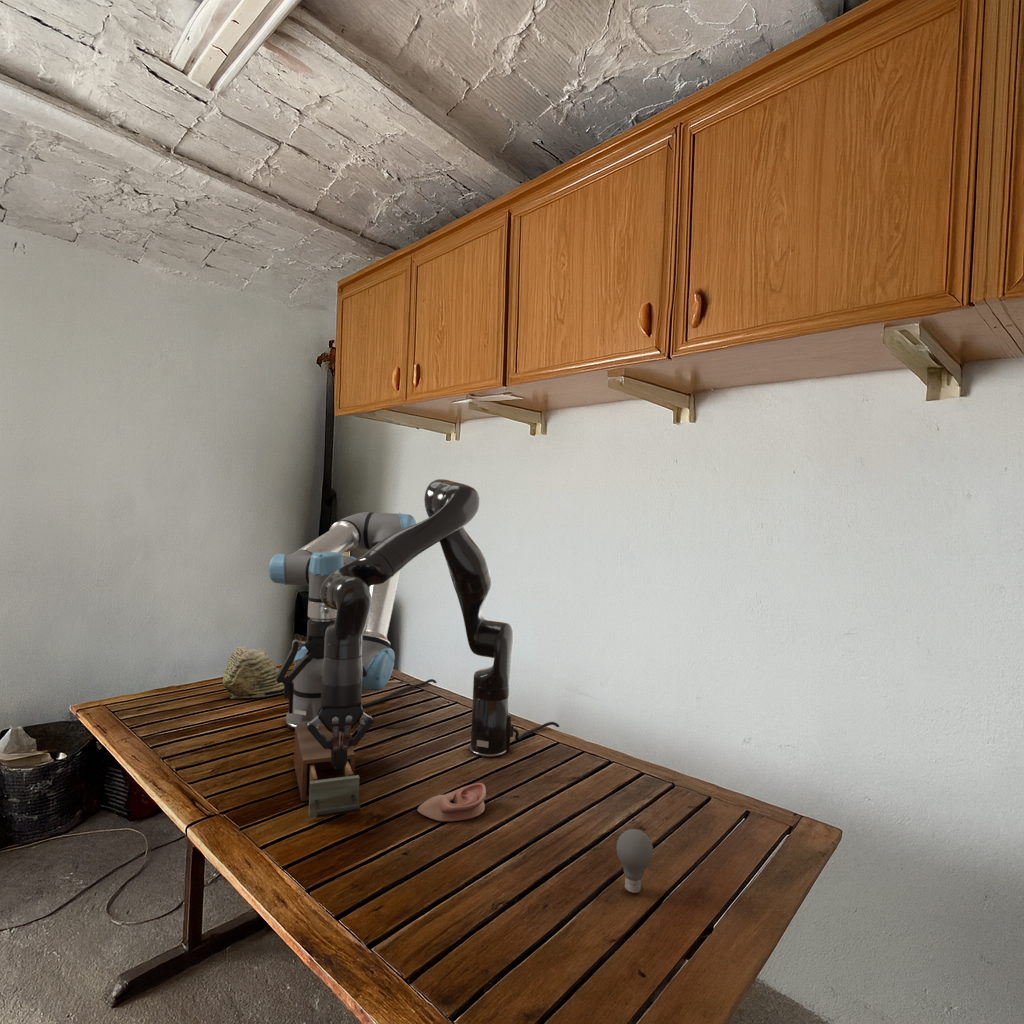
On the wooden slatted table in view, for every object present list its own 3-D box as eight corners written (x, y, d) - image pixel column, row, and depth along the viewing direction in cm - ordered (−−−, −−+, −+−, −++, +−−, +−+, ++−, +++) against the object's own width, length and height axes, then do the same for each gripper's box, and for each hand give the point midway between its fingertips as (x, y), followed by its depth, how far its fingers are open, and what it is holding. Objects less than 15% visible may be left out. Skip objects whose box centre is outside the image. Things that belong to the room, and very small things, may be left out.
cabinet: (353, 794, 136) (355, 754, 135) (301, 801, 131) (303, 760, 131) (339, 756, 155) (340, 721, 154) (293, 761, 150) (295, 725, 150)
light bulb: (610, 879, 108) (613, 822, 108) (644, 879, 109) (647, 822, 109) (619, 902, 102) (622, 840, 102) (655, 901, 103) (658, 840, 103)
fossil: (218, 695, 195) (220, 647, 195) (278, 685, 208) (279, 640, 207) (228, 703, 189) (230, 653, 188) (289, 692, 201) (290, 645, 201)
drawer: (363, 824, 122) (364, 789, 121) (312, 832, 118) (313, 796, 118) (343, 770, 145) (344, 741, 145) (300, 776, 141) (301, 746, 141)
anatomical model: (412, 797, 126) (431, 773, 138) (411, 817, 126) (430, 791, 138) (476, 807, 124) (490, 781, 135) (476, 827, 124) (489, 800, 135)
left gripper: (268, 623, 139) (264, 719, 140) (381, 619, 149) (377, 709, 150) (266, 617, 146) (263, 708, 147) (374, 614, 156) (371, 699, 157)
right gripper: (308, 686, 115) (304, 781, 116) (380, 681, 121) (376, 771, 121) (304, 675, 122) (300, 764, 123) (372, 671, 128) (369, 756, 128)
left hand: (321, 709), depth 148 cm, fingers open, 13 cm apart
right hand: (338, 767), depth 122 cm, fingers closed
